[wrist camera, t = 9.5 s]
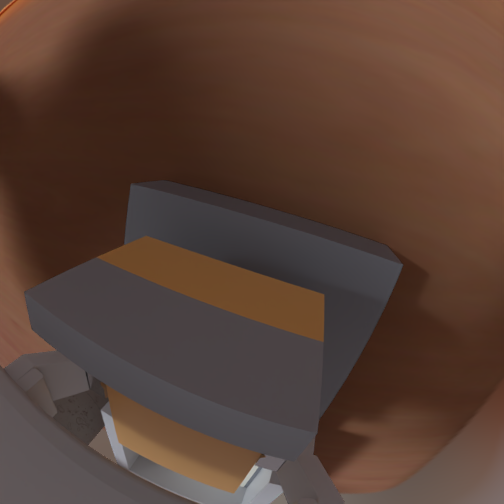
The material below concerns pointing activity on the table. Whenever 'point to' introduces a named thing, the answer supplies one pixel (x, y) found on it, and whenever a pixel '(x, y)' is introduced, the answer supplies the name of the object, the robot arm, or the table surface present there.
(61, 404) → the thermos bottle
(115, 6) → the table surface
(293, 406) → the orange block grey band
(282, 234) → the dock
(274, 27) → the table surface
